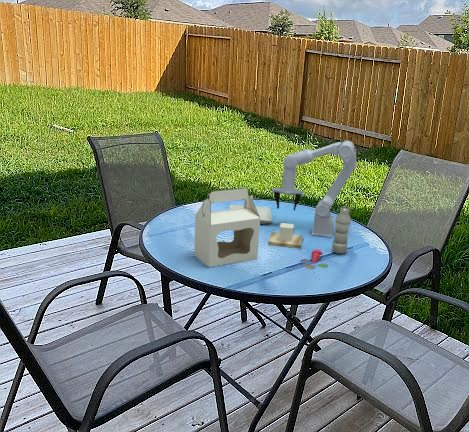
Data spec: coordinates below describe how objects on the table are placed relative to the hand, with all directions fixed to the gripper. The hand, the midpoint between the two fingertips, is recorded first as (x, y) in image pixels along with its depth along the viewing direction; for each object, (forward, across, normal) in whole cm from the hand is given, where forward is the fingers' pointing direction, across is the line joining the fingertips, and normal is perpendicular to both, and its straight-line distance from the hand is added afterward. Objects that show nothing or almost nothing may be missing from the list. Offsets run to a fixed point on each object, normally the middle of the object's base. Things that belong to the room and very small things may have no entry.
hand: (286, 208), depth 226 cm
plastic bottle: (+10, +25, -23) cm, 35 cm away
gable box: (+10, -20, -42) cm, 48 cm away
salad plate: (+10, -18, +9) cm, 22 cm away
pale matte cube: (+8, +2, -18) cm, 20 cm away
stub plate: (+9, +2, -18) cm, 20 cm away
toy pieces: (+10, +15, -37) cm, 41 cm away
